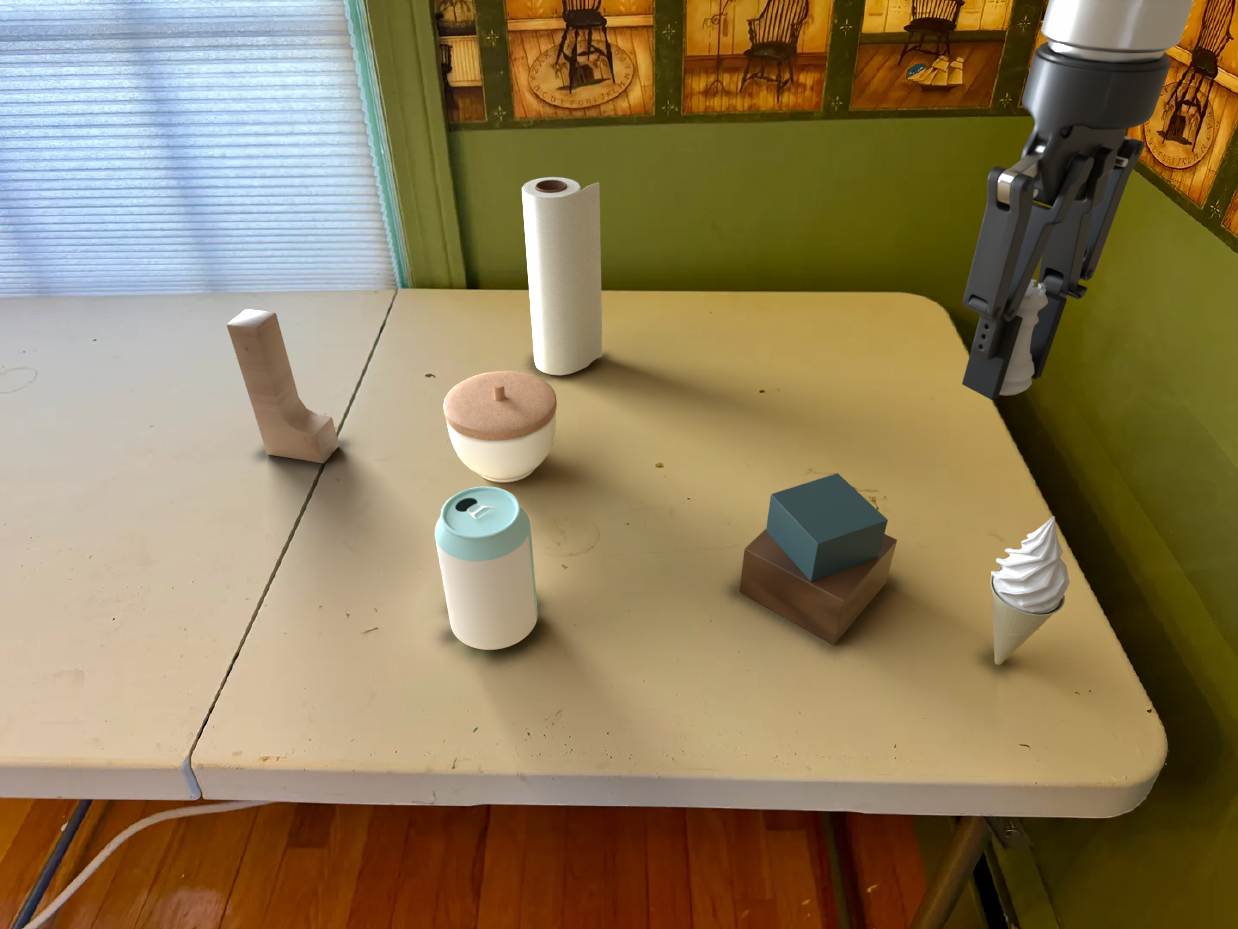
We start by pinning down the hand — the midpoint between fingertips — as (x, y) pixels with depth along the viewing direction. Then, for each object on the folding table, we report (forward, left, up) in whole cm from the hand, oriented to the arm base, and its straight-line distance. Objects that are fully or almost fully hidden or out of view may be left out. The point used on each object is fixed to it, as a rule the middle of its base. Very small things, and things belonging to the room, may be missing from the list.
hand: (1001, 379), depth 66 cm
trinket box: (+34, +26, -18) cm, 46 cm away
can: (+16, +37, -18) cm, 44 cm away
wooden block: (+48, +42, -18) cm, 66 cm away
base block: (+4, +13, -18) cm, 22 cm away
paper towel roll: (+47, +11, -18) cm, 51 cm away
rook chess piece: (0, 0, 0) cm, 1 cm away
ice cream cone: (-10, +7, -18) cm, 22 cm away
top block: (+4, +13, -13) cm, 19 cm away
